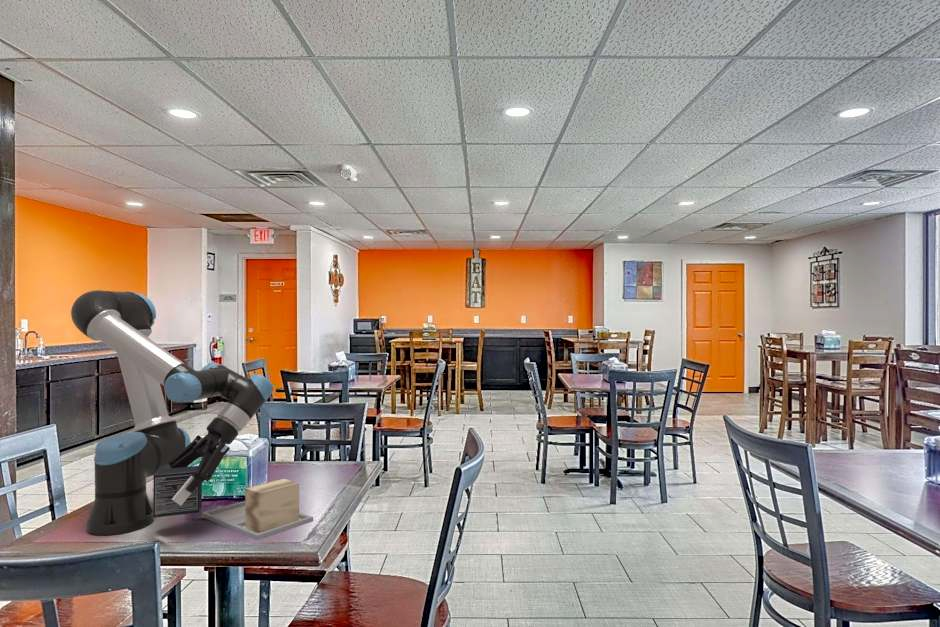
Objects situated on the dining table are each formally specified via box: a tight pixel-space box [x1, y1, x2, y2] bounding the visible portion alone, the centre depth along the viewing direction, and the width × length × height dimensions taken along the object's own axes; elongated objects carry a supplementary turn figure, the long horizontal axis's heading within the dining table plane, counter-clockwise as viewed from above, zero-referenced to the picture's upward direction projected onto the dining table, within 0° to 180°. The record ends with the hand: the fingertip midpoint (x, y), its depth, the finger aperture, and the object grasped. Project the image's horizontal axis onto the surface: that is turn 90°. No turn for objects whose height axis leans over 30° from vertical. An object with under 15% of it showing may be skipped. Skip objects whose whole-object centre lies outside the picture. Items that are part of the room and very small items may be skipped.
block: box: [244, 478, 300, 533], centre depth 146 cm, size 7×11×10 cm, turn 142°
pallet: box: [200, 500, 314, 541], centre depth 150 cm, size 27×16×2 cm, turn 52°
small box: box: [152, 465, 203, 519], centre depth 142 cm, size 11×6×10 cm, turn 111°
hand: (165, 497), depth 139 cm, fingers closed on small box, 10 cm apart
